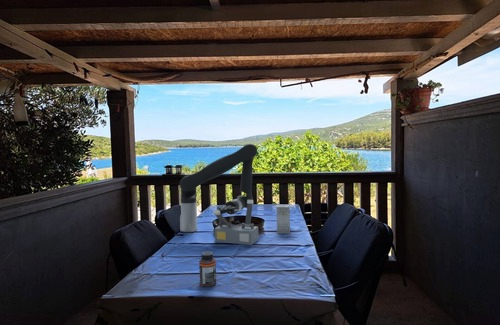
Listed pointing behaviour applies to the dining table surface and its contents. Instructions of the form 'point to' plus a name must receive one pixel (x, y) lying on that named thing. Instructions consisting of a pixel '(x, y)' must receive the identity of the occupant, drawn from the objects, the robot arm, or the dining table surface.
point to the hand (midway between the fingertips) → (219, 212)
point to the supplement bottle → (207, 269)
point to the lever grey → (248, 213)
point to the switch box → (236, 234)
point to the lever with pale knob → (220, 217)
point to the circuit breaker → (283, 219)
